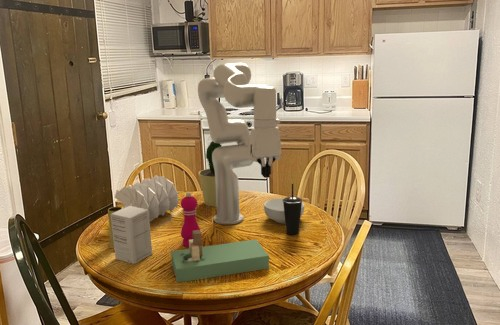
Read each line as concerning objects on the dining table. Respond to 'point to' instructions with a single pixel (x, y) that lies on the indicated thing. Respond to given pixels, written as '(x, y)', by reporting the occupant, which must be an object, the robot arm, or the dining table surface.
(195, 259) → the stacked wooden blocks
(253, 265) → the putting mat
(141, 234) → the supplement box
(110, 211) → the vase
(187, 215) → the pepper mill
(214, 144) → the potted cactus
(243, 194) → the dining table surface
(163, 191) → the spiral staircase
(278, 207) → the cereal bowl
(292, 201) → the drinking cup
